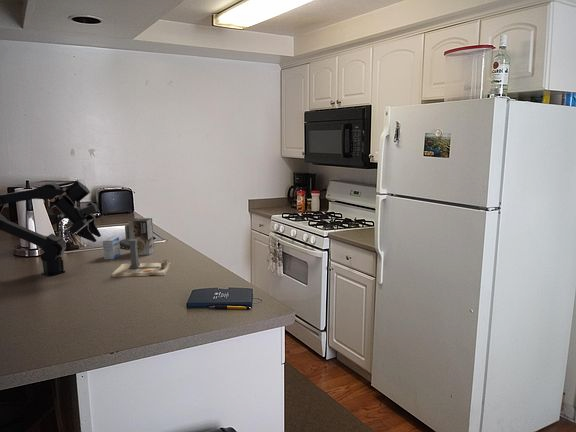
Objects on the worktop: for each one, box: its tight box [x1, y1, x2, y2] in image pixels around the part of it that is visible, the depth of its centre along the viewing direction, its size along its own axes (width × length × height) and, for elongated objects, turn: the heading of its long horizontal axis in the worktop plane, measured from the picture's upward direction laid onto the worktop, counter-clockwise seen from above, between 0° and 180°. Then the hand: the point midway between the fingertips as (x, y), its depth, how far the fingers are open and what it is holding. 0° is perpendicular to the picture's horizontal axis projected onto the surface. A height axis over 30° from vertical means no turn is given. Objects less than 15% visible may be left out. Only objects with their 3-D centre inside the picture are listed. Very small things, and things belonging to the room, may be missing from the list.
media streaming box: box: [119, 237, 155, 250], centre depth 229 cm, size 15×15×3 cm
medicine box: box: [102, 236, 121, 261], centre depth 205 cm, size 8×4×9 cm, turn 179°
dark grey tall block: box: [129, 239, 141, 268], centre depth 183 cm, size 3×4×11 cm
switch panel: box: [111, 259, 172, 278], centre depth 184 cm, size 20×14×4 cm
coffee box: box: [127, 217, 155, 256], centre depth 212 cm, size 9×6×16 cm
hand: (97, 238), depth 183 cm, fingers open, 9 cm apart
